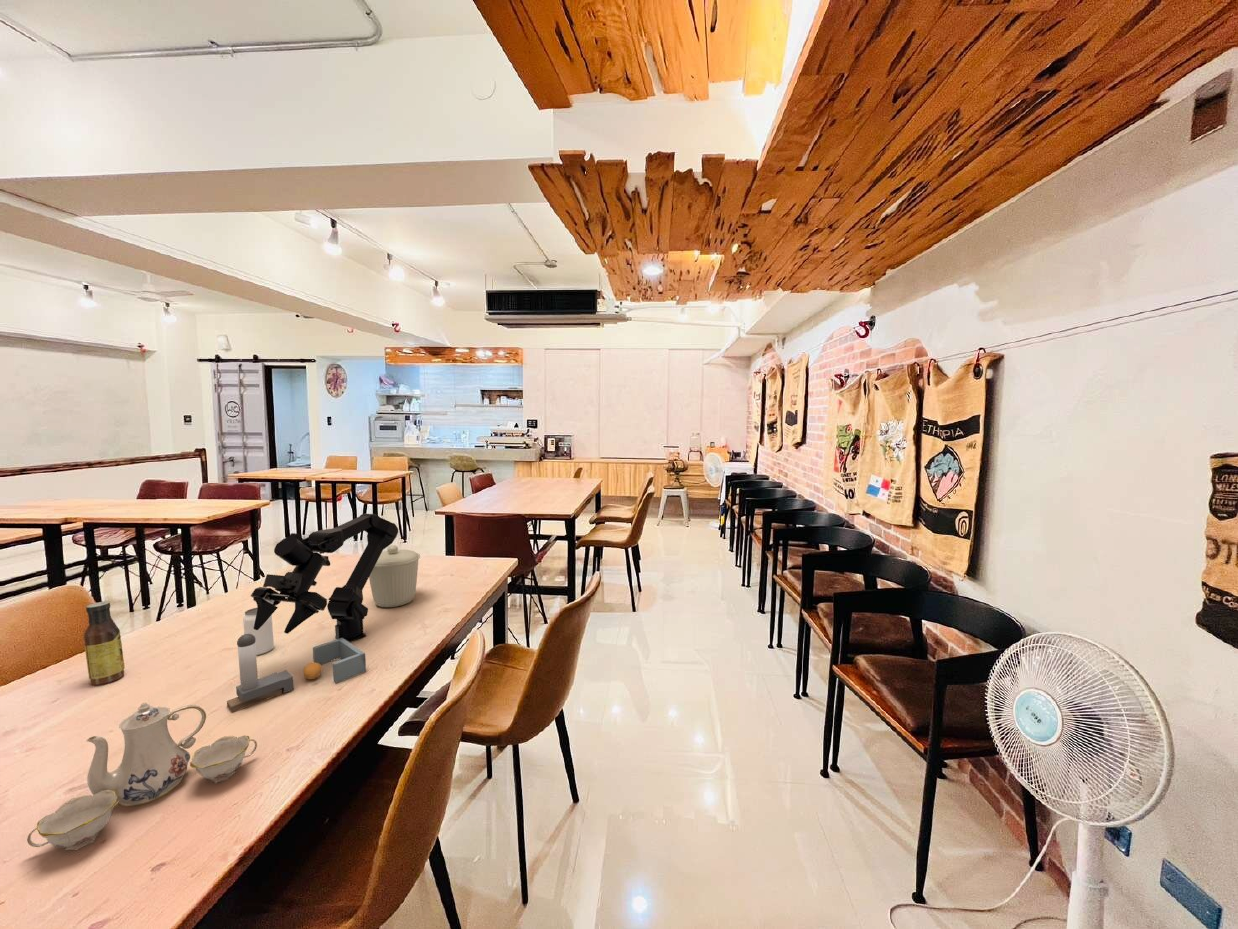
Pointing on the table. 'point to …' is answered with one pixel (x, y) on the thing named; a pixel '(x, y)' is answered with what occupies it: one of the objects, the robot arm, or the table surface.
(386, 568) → the canister
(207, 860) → the table surface
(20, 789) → the table surface
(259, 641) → the can
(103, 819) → the chinaware
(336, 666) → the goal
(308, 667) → the ball
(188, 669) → the table surface
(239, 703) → the rail
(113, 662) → the sauce bottle
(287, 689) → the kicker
